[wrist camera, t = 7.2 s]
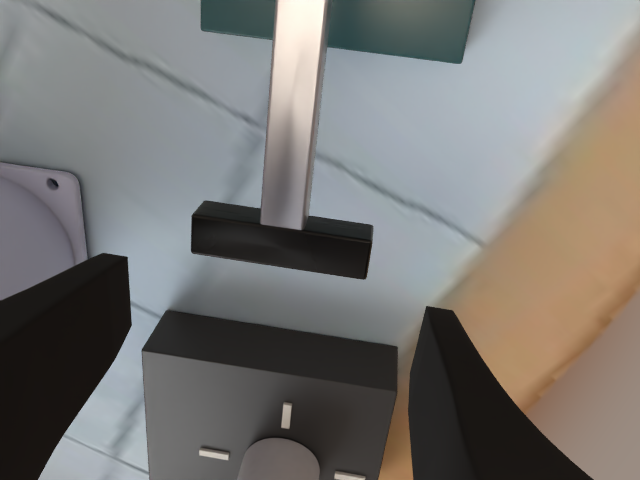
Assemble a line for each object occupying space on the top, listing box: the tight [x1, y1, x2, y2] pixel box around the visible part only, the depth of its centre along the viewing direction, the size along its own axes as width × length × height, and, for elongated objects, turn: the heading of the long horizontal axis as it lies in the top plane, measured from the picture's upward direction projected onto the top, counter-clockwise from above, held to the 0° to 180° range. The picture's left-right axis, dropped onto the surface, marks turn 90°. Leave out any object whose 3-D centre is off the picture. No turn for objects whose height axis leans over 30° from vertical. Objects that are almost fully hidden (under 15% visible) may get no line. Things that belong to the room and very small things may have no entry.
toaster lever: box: [191, 0, 373, 280], centre depth 13 cm, size 11×4×2 cm, turn 174°
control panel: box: [142, 311, 398, 480], centre depth 28 cm, size 11×9×3 cm
